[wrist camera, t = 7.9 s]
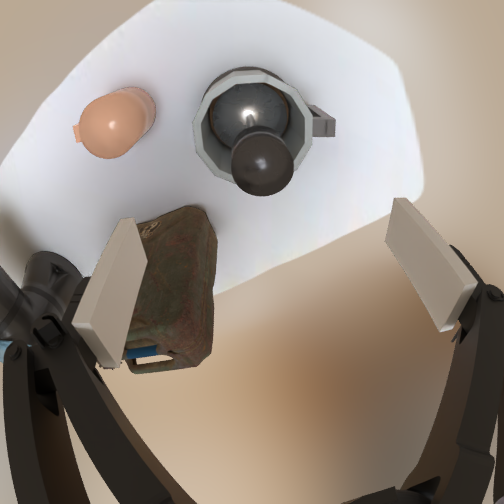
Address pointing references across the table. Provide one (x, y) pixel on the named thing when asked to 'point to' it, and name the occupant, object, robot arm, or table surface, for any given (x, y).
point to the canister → (174, 293)
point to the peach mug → (115, 122)
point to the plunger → (255, 137)
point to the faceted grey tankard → (294, 136)
